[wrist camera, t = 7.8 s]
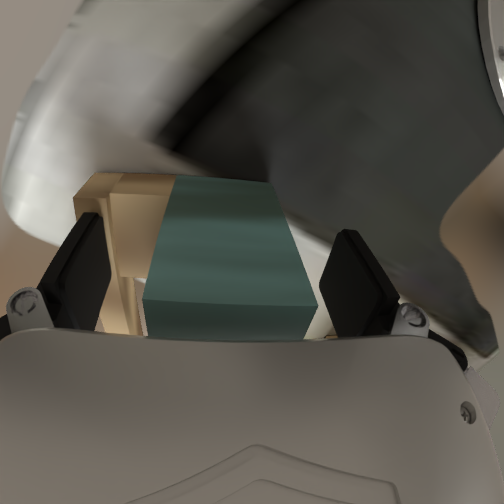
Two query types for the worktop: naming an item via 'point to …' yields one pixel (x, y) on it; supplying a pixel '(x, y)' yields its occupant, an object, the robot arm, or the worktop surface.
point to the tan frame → (199, 258)
